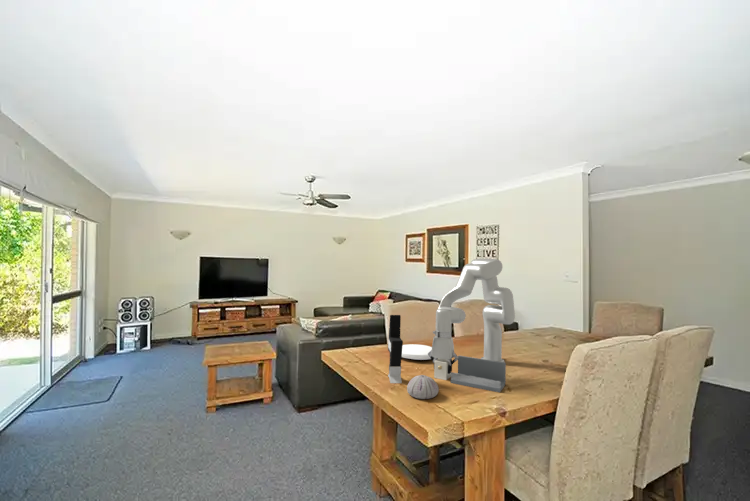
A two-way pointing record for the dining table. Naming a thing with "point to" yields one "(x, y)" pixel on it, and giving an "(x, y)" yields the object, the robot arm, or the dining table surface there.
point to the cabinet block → (441, 369)
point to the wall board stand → (480, 373)
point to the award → (395, 349)
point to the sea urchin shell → (422, 387)
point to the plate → (416, 351)
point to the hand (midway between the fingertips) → (442, 371)
